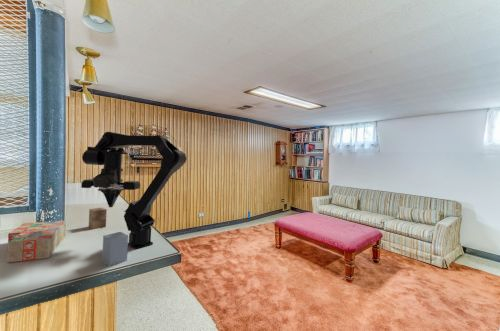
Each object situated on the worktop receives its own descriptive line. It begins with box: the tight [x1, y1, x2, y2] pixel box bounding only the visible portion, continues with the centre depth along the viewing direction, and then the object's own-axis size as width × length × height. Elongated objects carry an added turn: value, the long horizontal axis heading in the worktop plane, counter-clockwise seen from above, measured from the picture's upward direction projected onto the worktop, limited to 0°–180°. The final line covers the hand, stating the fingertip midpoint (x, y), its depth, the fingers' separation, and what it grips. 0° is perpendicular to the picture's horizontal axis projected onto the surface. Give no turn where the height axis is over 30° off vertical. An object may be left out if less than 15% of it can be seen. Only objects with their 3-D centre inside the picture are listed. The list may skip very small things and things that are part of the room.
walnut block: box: [88, 207, 107, 230], centre depth 101 cm, size 5×5×8 cm
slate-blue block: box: [101, 231, 129, 267], centre depth 70 cm, size 5×5×8 cm
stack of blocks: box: [7, 220, 67, 263], centre depth 76 cm, size 21×6×12 cm
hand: (110, 207), depth 85 cm, fingers closed
